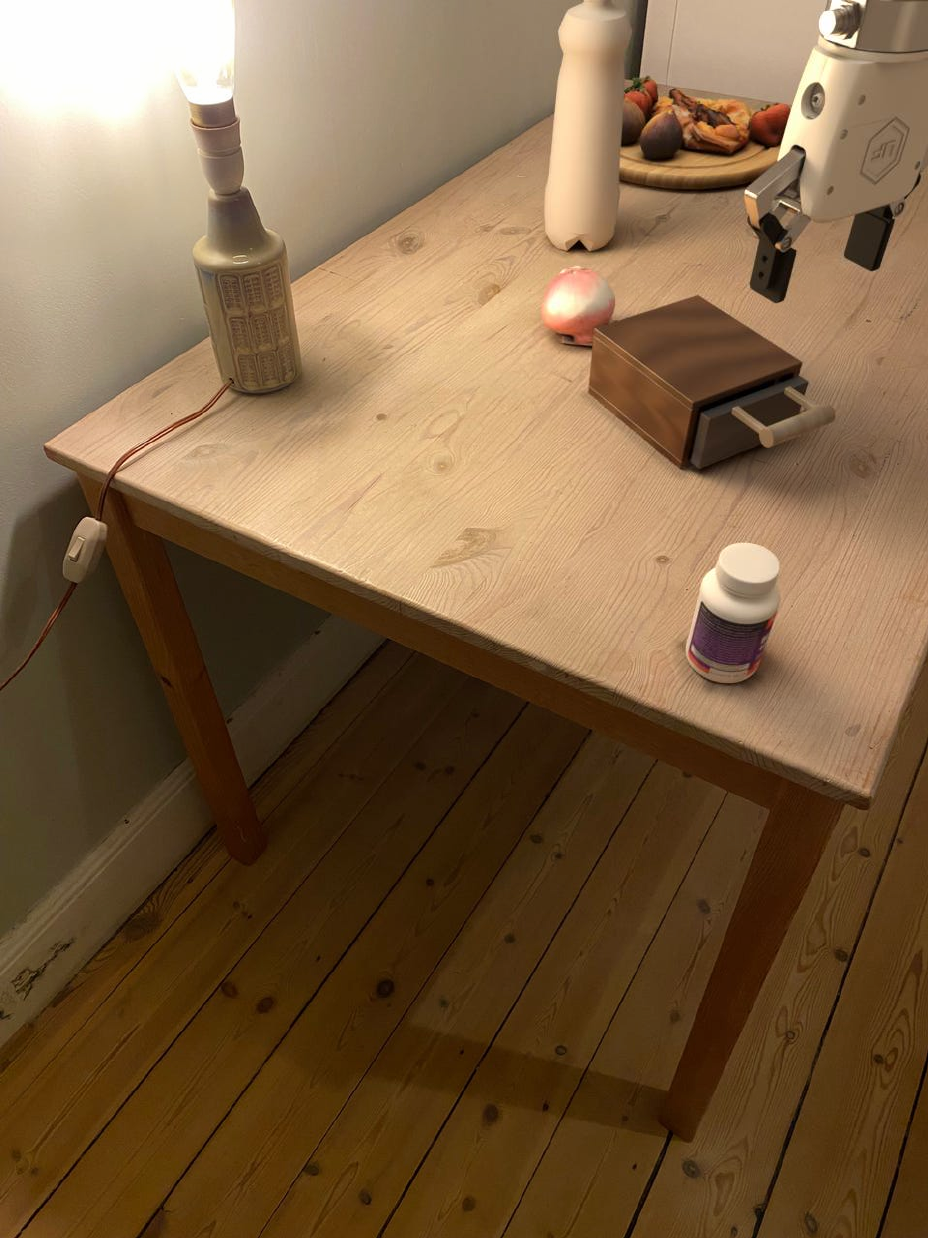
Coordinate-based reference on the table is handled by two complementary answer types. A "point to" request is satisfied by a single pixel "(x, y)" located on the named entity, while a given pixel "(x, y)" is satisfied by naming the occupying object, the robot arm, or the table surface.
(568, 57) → the bottle
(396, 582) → the table surface
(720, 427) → the drawer
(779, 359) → the cabinet
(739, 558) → the pill bottle
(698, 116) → the wooden plate
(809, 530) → the table surface
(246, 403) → the table surface
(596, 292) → the onion
